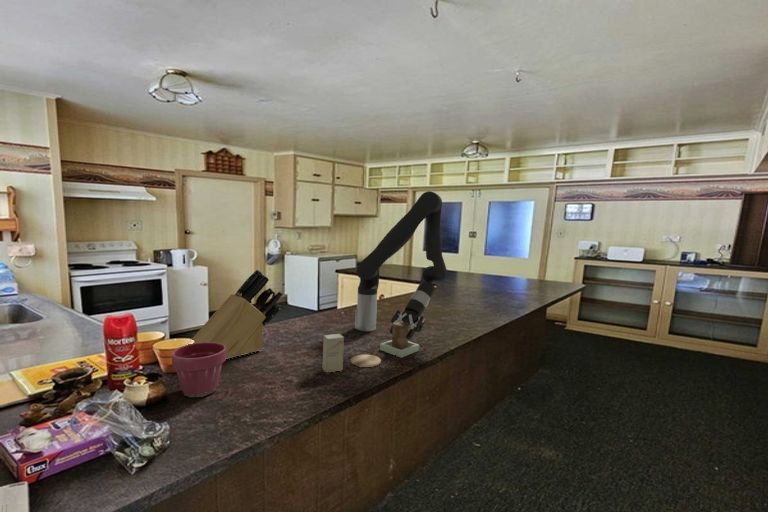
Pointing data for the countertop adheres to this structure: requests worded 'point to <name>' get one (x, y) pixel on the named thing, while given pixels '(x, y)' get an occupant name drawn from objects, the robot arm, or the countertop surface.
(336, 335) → the skincare box
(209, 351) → the plant pot
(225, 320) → the knife block
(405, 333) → the walnut block
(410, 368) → the countertop surface
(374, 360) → the coaster
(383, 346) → the holder
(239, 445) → the countertop surface
